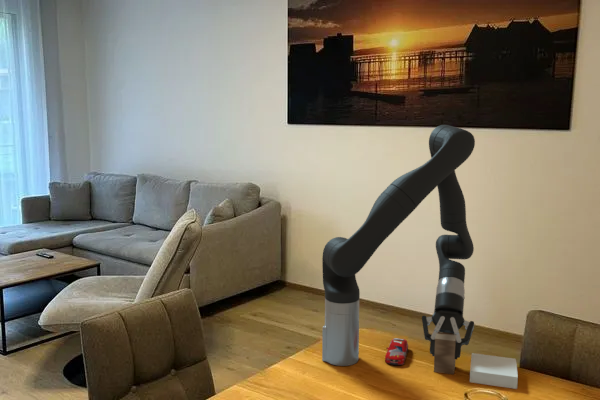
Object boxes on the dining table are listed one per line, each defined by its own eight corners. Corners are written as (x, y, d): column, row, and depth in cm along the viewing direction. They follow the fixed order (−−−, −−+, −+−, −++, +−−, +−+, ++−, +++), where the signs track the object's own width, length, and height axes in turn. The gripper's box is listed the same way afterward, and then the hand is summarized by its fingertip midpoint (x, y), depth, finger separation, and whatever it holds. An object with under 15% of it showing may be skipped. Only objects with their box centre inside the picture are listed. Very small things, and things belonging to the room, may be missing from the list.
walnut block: (433, 371, 143) (435, 338, 142) (435, 363, 148) (436, 331, 147) (453, 374, 142) (455, 341, 141) (455, 366, 147) (456, 333, 145)
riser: (469, 382, 138) (470, 370, 137) (471, 363, 148) (471, 353, 148) (517, 389, 134) (517, 377, 134) (515, 369, 145) (516, 358, 144)
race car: (403, 368, 146) (403, 354, 145) (382, 365, 147) (383, 351, 147) (410, 349, 158) (410, 335, 157) (391, 346, 160) (391, 333, 159)
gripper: (422, 288, 152) (415, 347, 142) (477, 293, 147) (474, 355, 137) (424, 301, 157) (417, 358, 148) (477, 306, 153) (473, 366, 143)
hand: (444, 356), depth 143 cm, fingers closed on walnut block, 5 cm apart
